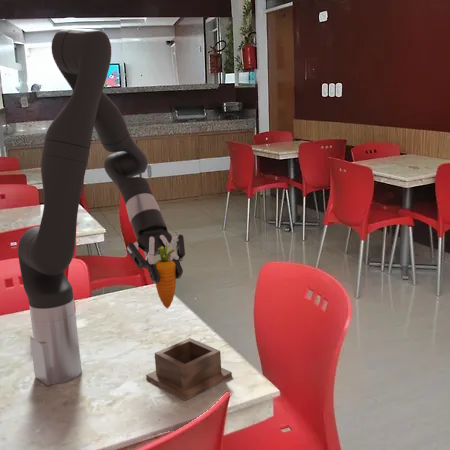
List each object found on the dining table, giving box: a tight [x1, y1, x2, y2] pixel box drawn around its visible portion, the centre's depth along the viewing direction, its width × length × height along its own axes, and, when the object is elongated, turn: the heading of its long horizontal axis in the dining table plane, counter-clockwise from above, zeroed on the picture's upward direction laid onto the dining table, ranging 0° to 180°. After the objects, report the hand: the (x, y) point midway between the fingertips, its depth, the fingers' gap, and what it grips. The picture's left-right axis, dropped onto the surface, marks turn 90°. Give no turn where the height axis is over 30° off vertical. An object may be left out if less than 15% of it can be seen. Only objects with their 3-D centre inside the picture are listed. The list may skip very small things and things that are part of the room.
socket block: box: [145, 337, 233, 402], centre depth 117 cm, size 13×13×6 cm
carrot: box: [154, 245, 177, 310], centre depth 124 cm, size 5×5×15 cm
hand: (168, 278), depth 122 cm, fingers closed on carrot, 4 cm apart
